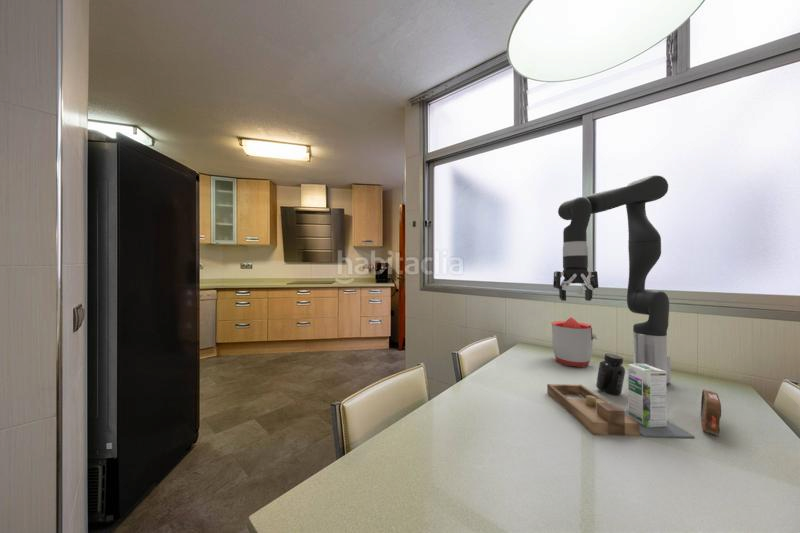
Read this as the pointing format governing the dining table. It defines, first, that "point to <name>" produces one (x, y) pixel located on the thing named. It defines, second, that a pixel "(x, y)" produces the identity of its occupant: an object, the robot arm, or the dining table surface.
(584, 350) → the citrus juicer
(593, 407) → the body
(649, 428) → the mat
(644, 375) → the syrup box
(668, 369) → the robot arm
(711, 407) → the tin
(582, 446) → the dining table surface
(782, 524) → the dining table surface
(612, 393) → the supplement bottle
